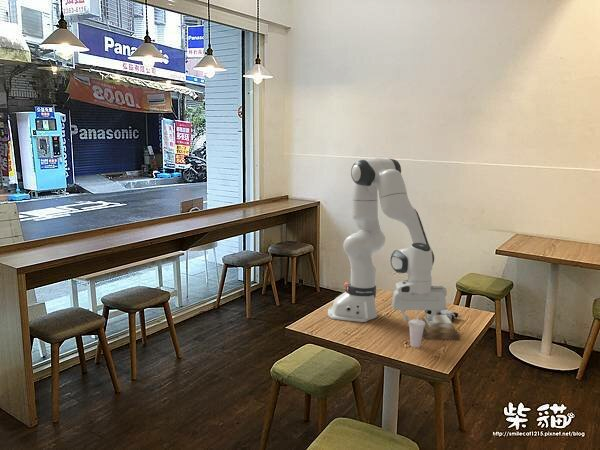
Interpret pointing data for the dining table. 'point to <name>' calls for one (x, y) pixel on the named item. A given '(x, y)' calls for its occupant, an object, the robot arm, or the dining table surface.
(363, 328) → the dining table surface
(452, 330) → the square stepped pedestal
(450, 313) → the robot toy
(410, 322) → the smoothie
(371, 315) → the robot arm
